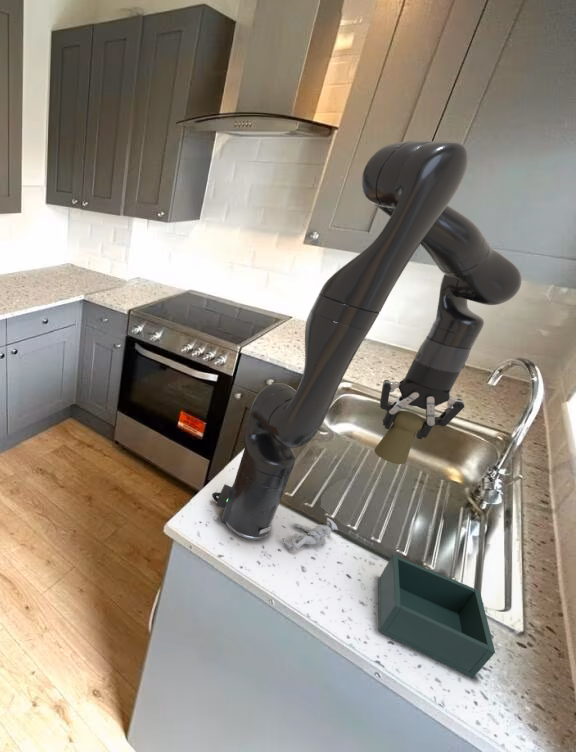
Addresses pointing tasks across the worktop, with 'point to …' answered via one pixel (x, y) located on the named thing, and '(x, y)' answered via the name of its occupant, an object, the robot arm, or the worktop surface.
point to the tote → (434, 616)
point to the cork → (399, 437)
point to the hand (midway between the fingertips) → (402, 431)
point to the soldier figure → (311, 534)
